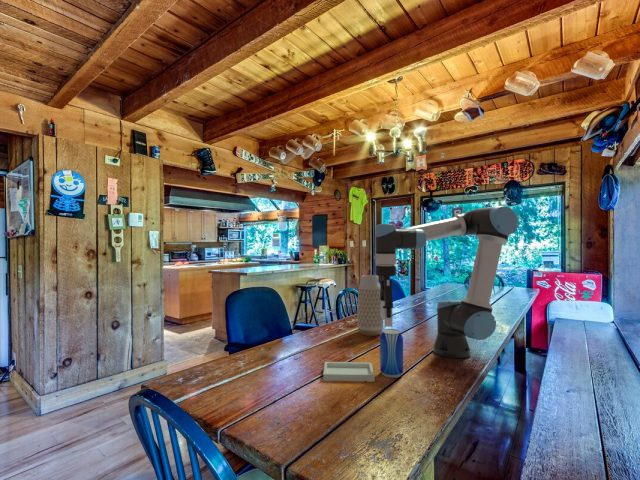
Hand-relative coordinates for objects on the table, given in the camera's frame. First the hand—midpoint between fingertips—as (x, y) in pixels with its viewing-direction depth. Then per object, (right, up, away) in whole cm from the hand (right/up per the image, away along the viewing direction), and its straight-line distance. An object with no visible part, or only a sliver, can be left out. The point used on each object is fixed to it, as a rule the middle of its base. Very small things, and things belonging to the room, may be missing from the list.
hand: (386, 321), depth 125 cm
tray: (-14, -19, -1) cm, 24 cm away
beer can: (+2, -19, -1) cm, 19 cm away
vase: (+2, -19, +53) cm, 56 cm away
